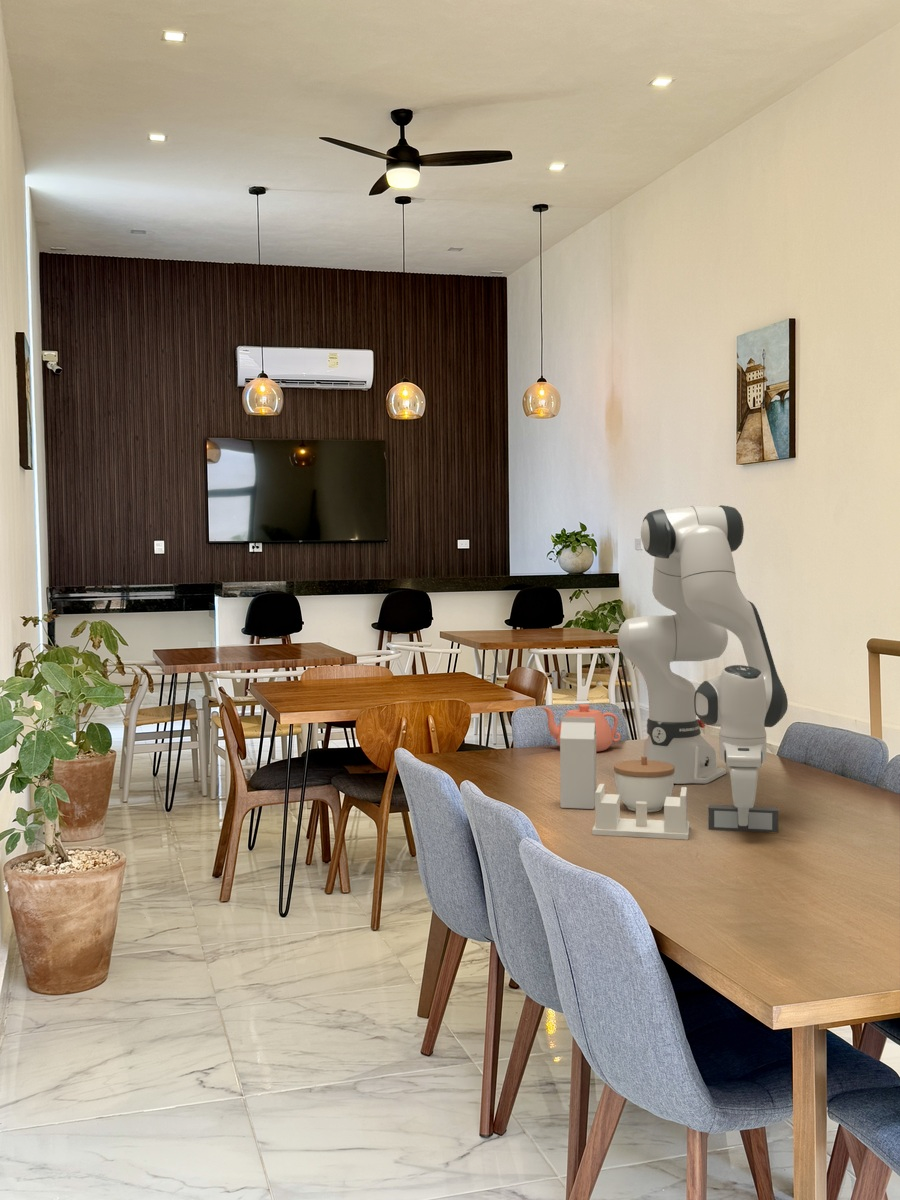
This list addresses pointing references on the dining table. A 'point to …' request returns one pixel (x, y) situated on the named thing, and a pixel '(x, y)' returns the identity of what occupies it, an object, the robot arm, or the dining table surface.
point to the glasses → (728, 819)
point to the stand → (640, 818)
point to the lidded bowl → (644, 782)
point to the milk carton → (578, 762)
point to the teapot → (602, 727)
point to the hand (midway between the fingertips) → (742, 820)
